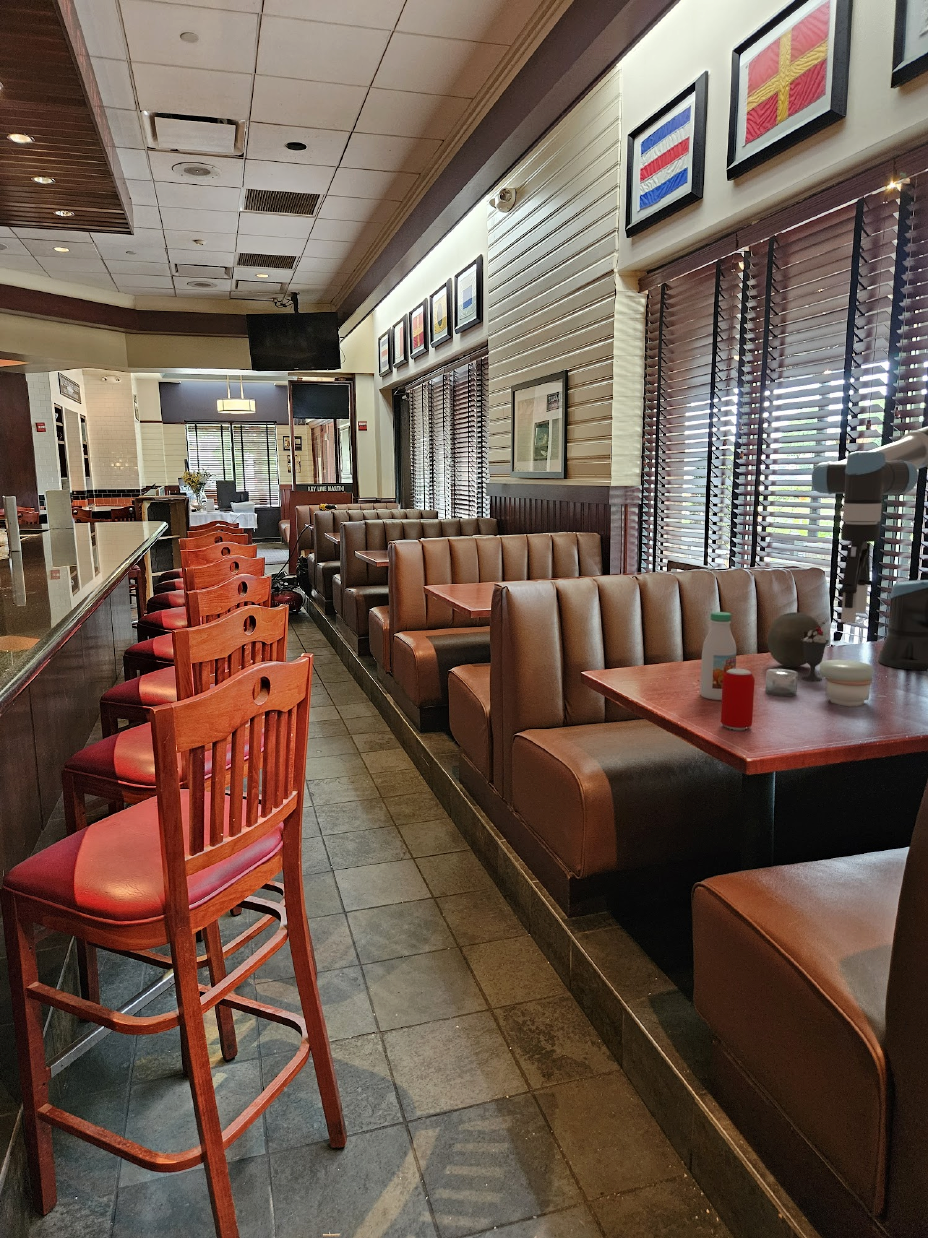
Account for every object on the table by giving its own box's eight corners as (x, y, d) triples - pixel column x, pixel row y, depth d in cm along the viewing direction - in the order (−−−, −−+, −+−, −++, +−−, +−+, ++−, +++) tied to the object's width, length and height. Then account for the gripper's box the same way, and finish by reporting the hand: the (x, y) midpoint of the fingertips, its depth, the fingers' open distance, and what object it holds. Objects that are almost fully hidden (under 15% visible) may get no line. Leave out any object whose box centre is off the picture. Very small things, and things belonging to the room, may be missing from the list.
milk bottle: (698, 699, 187) (702, 614, 184) (701, 691, 195) (705, 609, 191) (733, 702, 185) (737, 616, 181) (735, 694, 192) (739, 611, 188)
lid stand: (784, 687, 197) (785, 668, 196) (802, 695, 190) (804, 674, 189) (759, 689, 195) (760, 669, 194) (777, 697, 188) (778, 676, 188)
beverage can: (756, 731, 164) (760, 674, 162) (727, 732, 163) (730, 675, 161) (744, 722, 170) (747, 667, 168) (715, 723, 169) (718, 668, 167)
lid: (847, 668, 191) (848, 658, 191) (883, 679, 181) (884, 668, 180) (808, 672, 188) (809, 661, 187) (843, 683, 177) (844, 672, 177)
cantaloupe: (754, 663, 222) (757, 610, 220) (799, 660, 225) (802, 607, 223) (785, 675, 209) (789, 618, 206) (832, 672, 212) (836, 616, 209)
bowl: (833, 694, 191) (835, 669, 190) (876, 702, 184) (878, 676, 183) (816, 702, 184) (818, 677, 183) (860, 710, 178) (863, 684, 177)
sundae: (829, 683, 201) (833, 624, 198) (800, 681, 202) (804, 623, 200) (823, 676, 207) (827, 619, 205) (795, 675, 209) (799, 618, 206)
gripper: (852, 519, 189) (846, 608, 193) (831, 525, 169) (824, 624, 173) (888, 520, 185) (880, 610, 189) (870, 526, 165) (862, 628, 169)
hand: (853, 617), depth 181 cm, fingers open, 13 cm apart
